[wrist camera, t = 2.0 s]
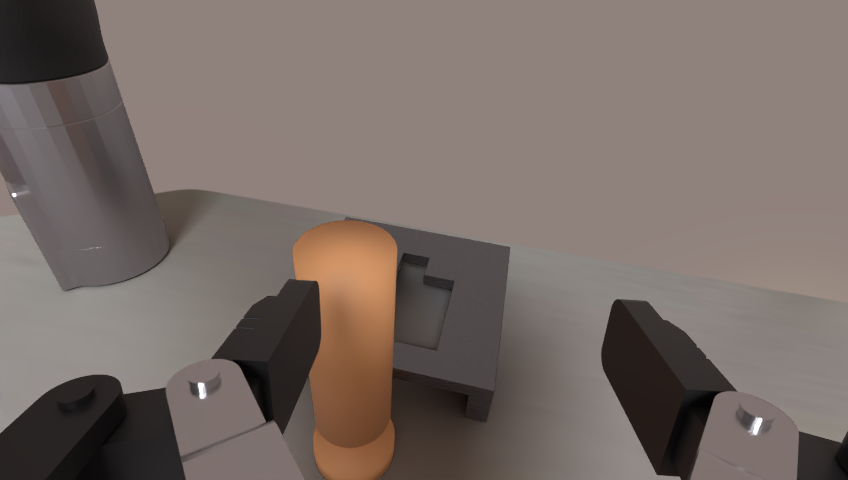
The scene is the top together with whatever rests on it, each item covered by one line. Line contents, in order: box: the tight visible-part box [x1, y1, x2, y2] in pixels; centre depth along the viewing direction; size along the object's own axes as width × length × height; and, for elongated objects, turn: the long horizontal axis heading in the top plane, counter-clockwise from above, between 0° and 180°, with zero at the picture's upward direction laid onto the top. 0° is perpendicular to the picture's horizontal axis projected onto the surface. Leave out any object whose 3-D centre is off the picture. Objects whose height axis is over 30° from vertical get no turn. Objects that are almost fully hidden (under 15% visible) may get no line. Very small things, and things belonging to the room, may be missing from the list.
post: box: [293, 220, 397, 480], centre depth 24 cm, size 5×5×16 cm
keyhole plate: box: [344, 217, 510, 422], centre depth 37 cm, size 16×16×4 cm
